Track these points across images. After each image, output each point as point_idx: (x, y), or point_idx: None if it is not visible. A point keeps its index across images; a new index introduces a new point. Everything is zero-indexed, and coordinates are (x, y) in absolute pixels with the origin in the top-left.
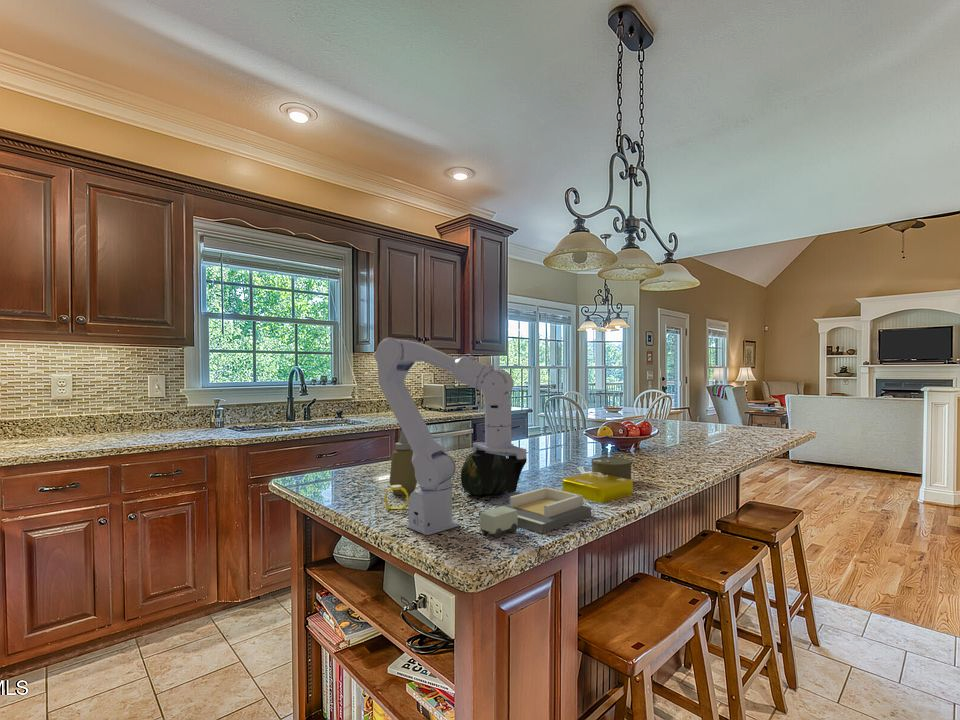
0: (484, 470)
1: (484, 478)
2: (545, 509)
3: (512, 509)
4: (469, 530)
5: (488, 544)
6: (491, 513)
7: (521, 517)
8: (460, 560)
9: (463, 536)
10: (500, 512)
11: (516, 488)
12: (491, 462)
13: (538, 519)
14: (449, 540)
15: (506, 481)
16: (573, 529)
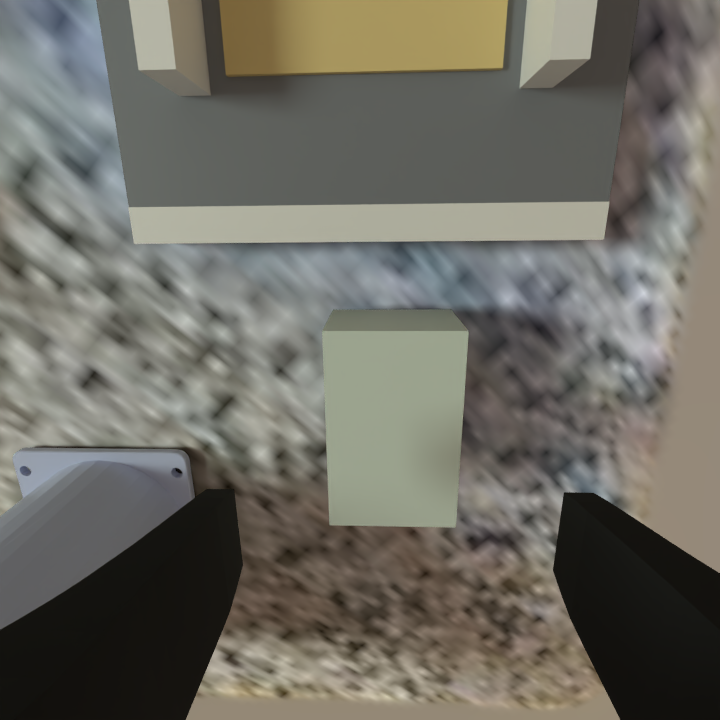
0: (164, 718)
1: (212, 626)
2: (553, 69)
3: (433, 346)
4: (263, 456)
5: (459, 511)
6: (393, 494)
7: (413, 228)
8: (492, 662)
9: (309, 520)
10: (420, 447)
11: (611, 505)
12: (65, 714)
13: (522, 171)
14: (308, 581)
15: (617, 695)
16: (693, 7)
